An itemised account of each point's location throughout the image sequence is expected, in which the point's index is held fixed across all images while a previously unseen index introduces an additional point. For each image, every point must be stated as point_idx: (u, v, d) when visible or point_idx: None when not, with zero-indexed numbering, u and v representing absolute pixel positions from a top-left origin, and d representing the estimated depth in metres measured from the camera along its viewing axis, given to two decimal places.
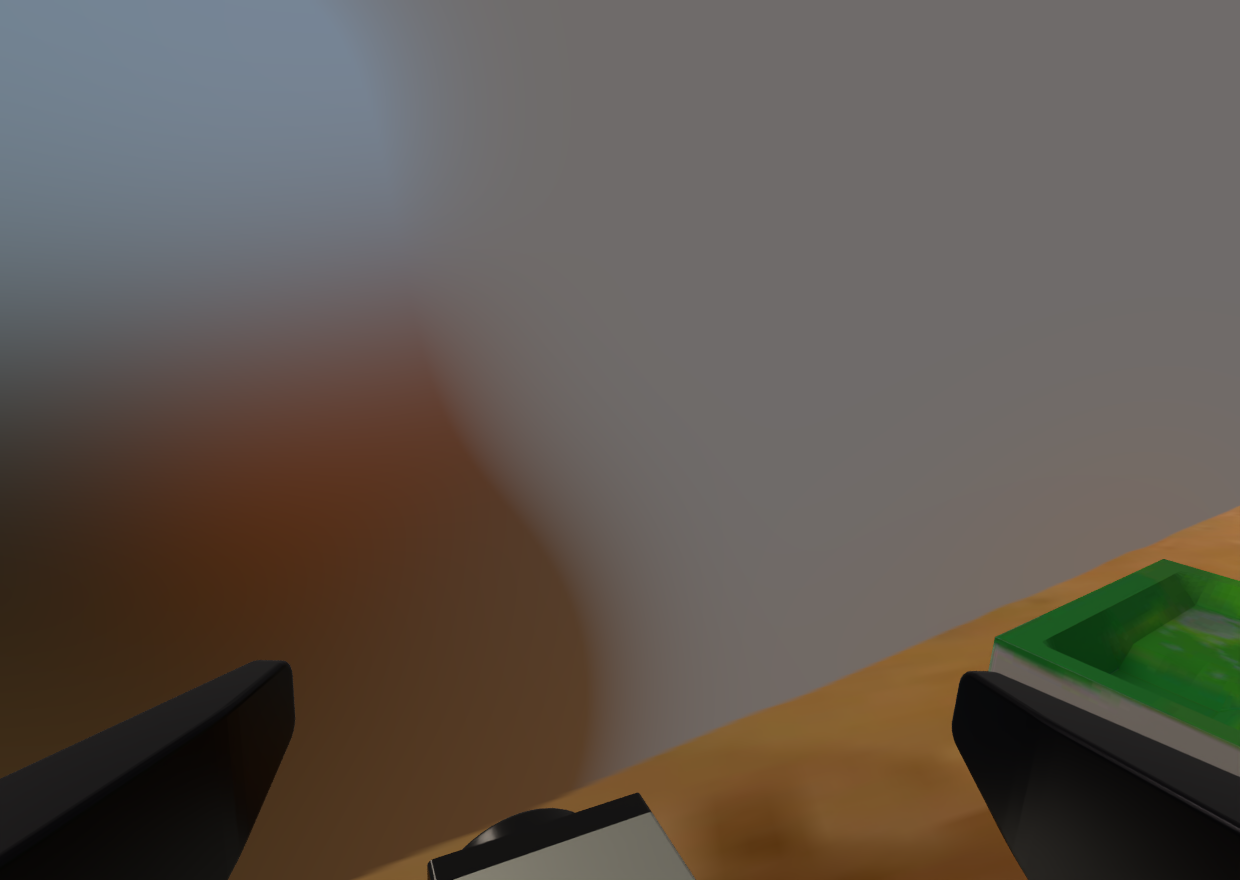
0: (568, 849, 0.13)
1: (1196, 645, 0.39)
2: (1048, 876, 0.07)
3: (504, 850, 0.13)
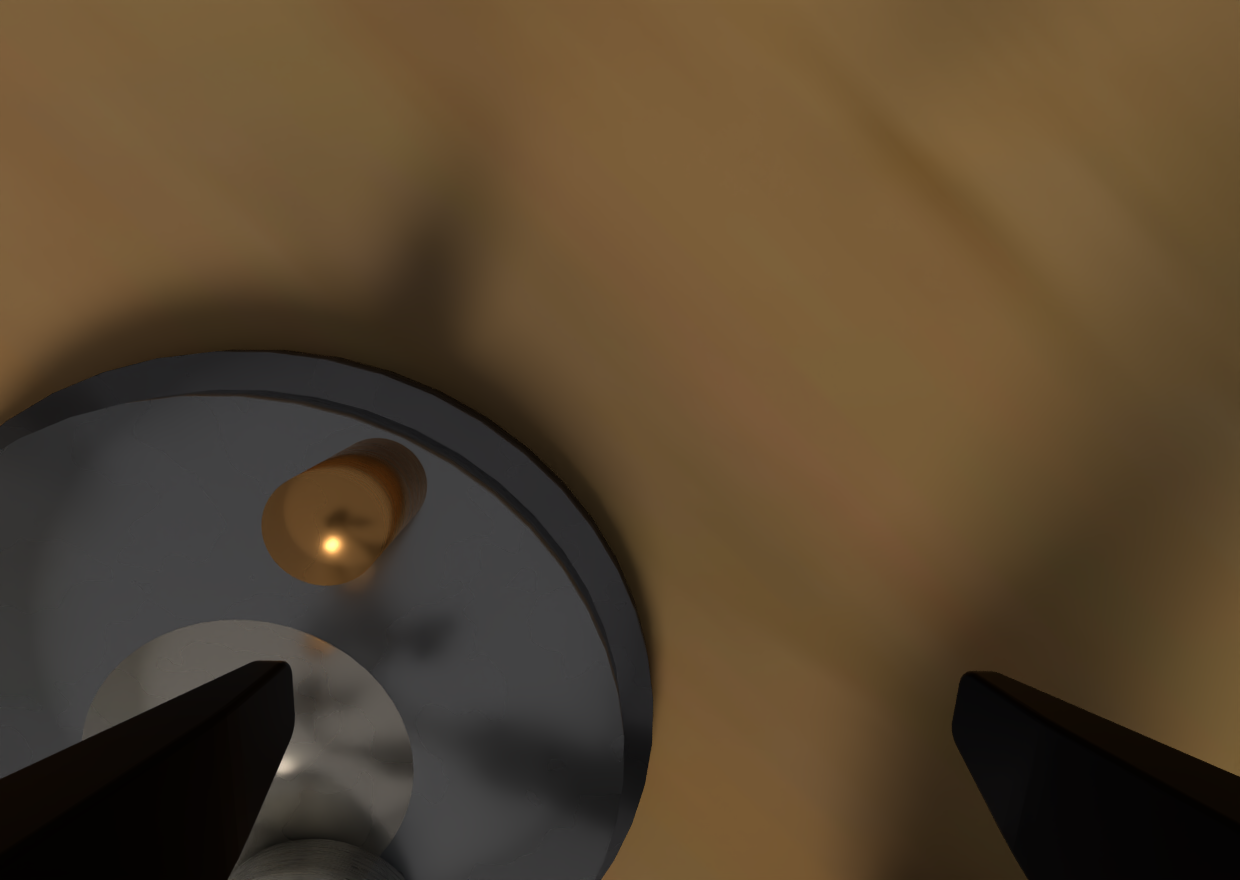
0: None
1: None
2: (1048, 876, 0.07)
3: None
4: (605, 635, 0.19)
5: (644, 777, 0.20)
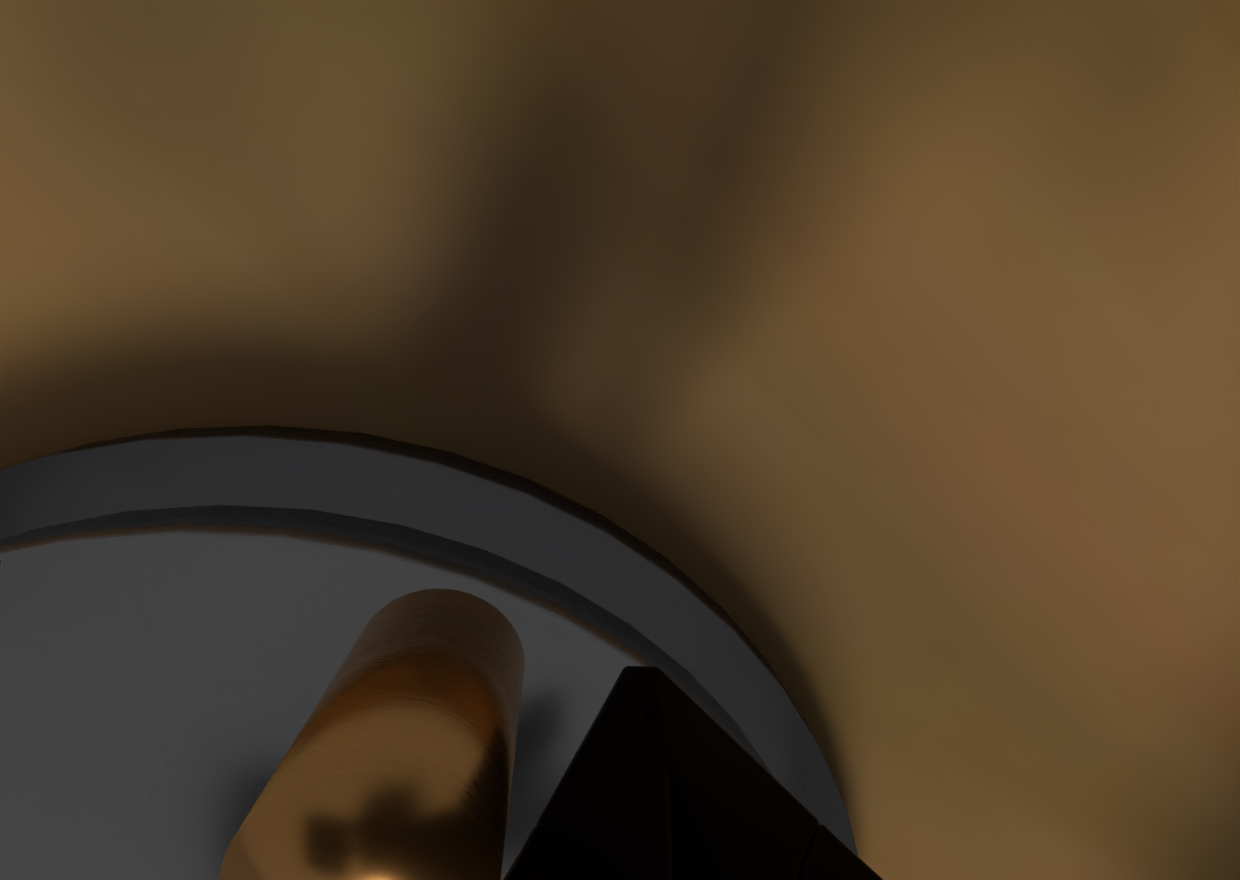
0: None
1: None
2: None
3: None
4: None
5: None
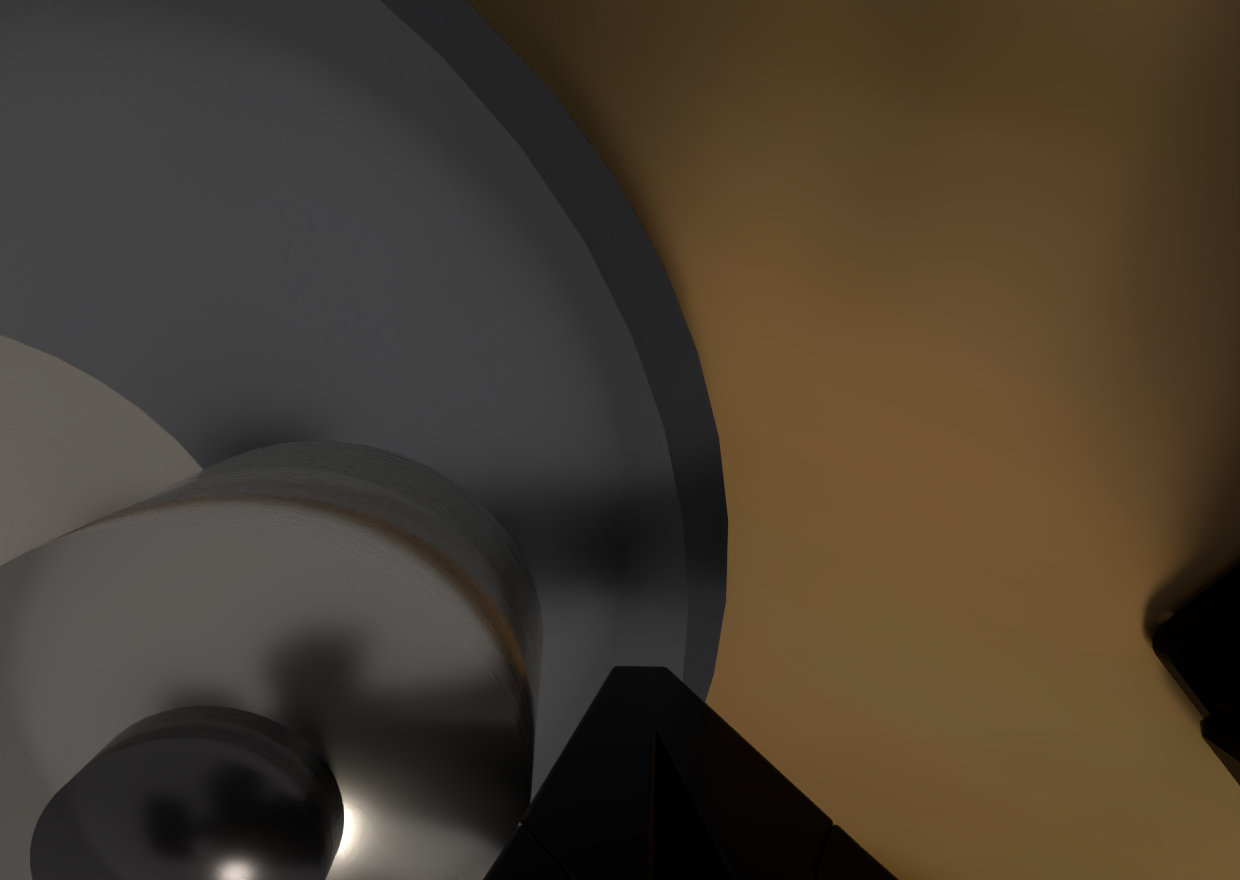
0: None
1: None
2: None
3: None
4: None
5: (712, 424, 0.11)
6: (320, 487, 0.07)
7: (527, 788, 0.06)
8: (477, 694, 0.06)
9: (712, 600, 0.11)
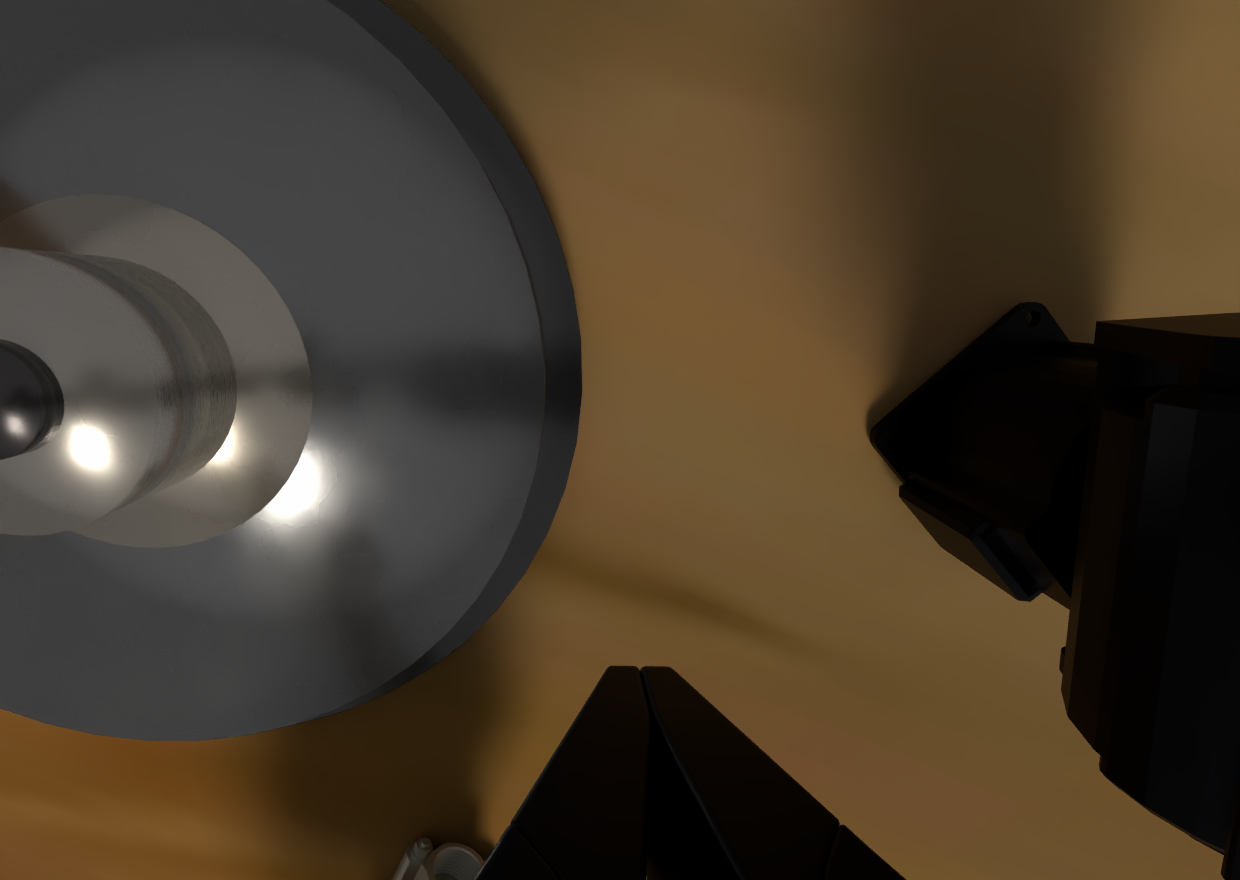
0: None
1: None
2: (653, 879, 0.07)
3: None
4: None
5: (568, 279, 0.18)
6: (66, 255, 0.14)
7: (152, 390, 0.13)
8: (122, 337, 0.13)
9: (573, 392, 0.19)
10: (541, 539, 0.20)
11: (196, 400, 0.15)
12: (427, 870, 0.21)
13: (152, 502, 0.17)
